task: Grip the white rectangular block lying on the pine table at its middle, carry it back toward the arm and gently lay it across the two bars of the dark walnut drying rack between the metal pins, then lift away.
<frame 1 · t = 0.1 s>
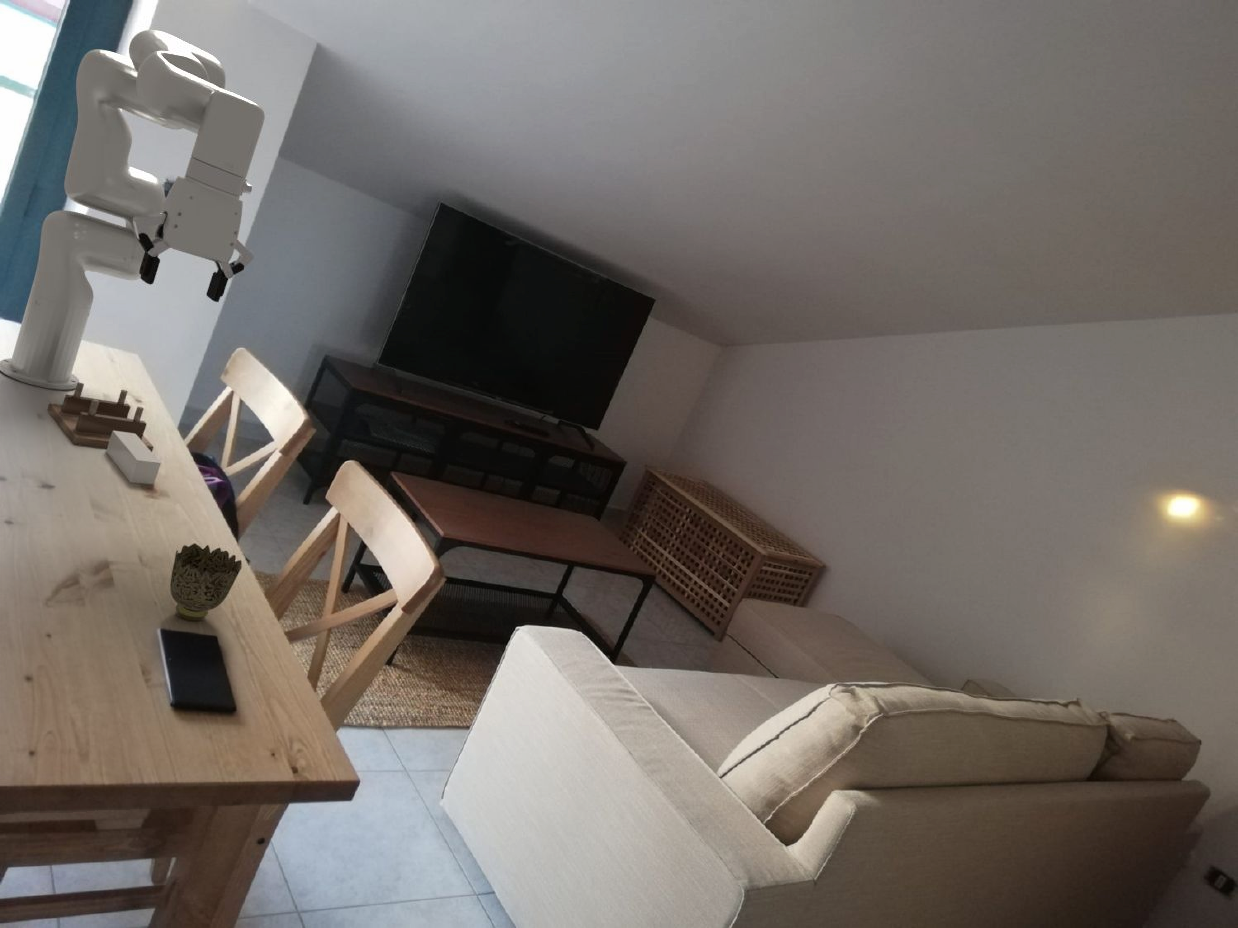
hand: (180, 290, 128), 31 cm above the table, fingers open, 9 cm apart
white rectangular block: (129, 468, 139), on the table
walnut rack: (99, 431, 148), on the table
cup: (189, 616, 105), on the table
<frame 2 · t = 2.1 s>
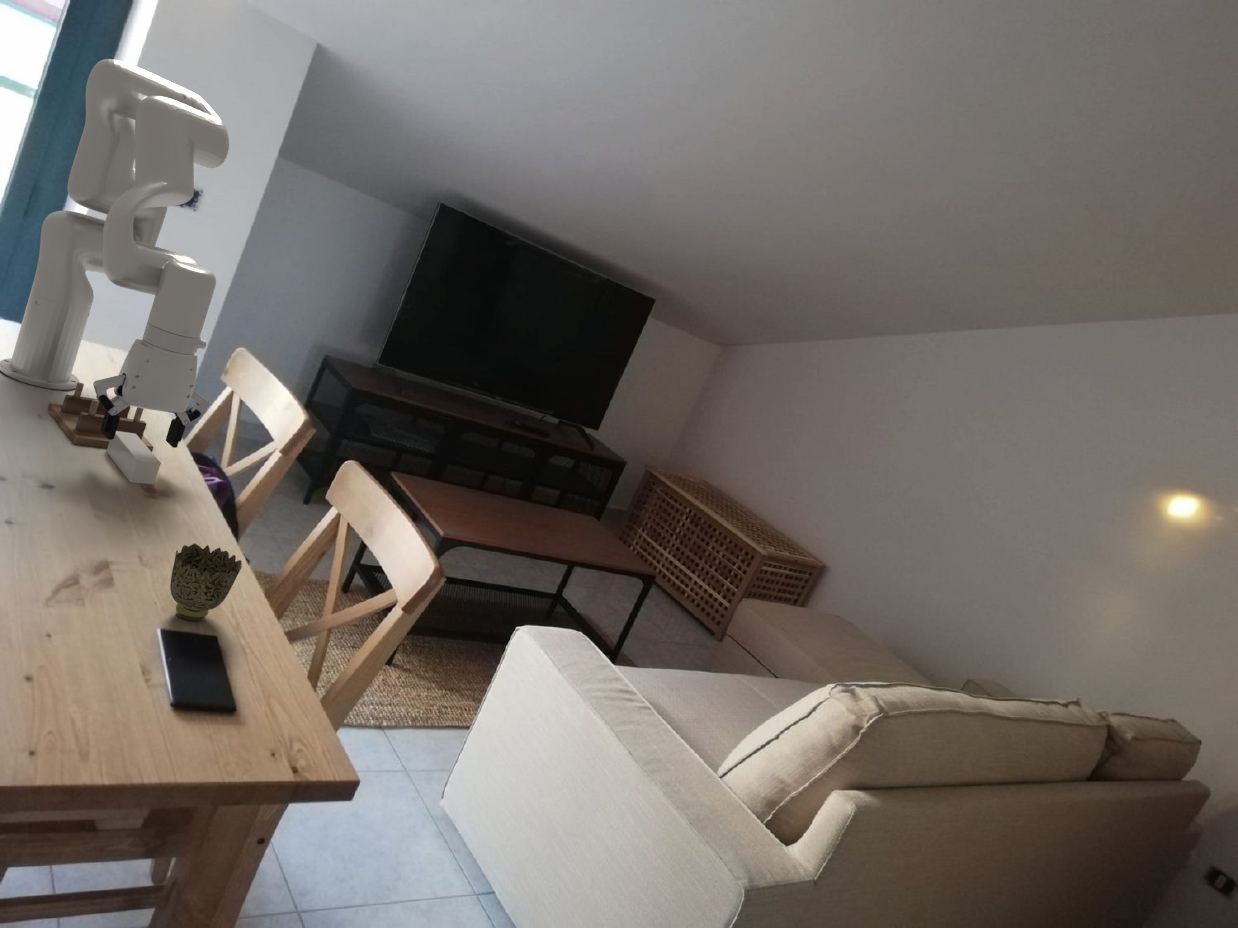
hand: (140, 440, 137), 5 cm above the table, fingers open, 9 cm apart
nothing on the table moved.
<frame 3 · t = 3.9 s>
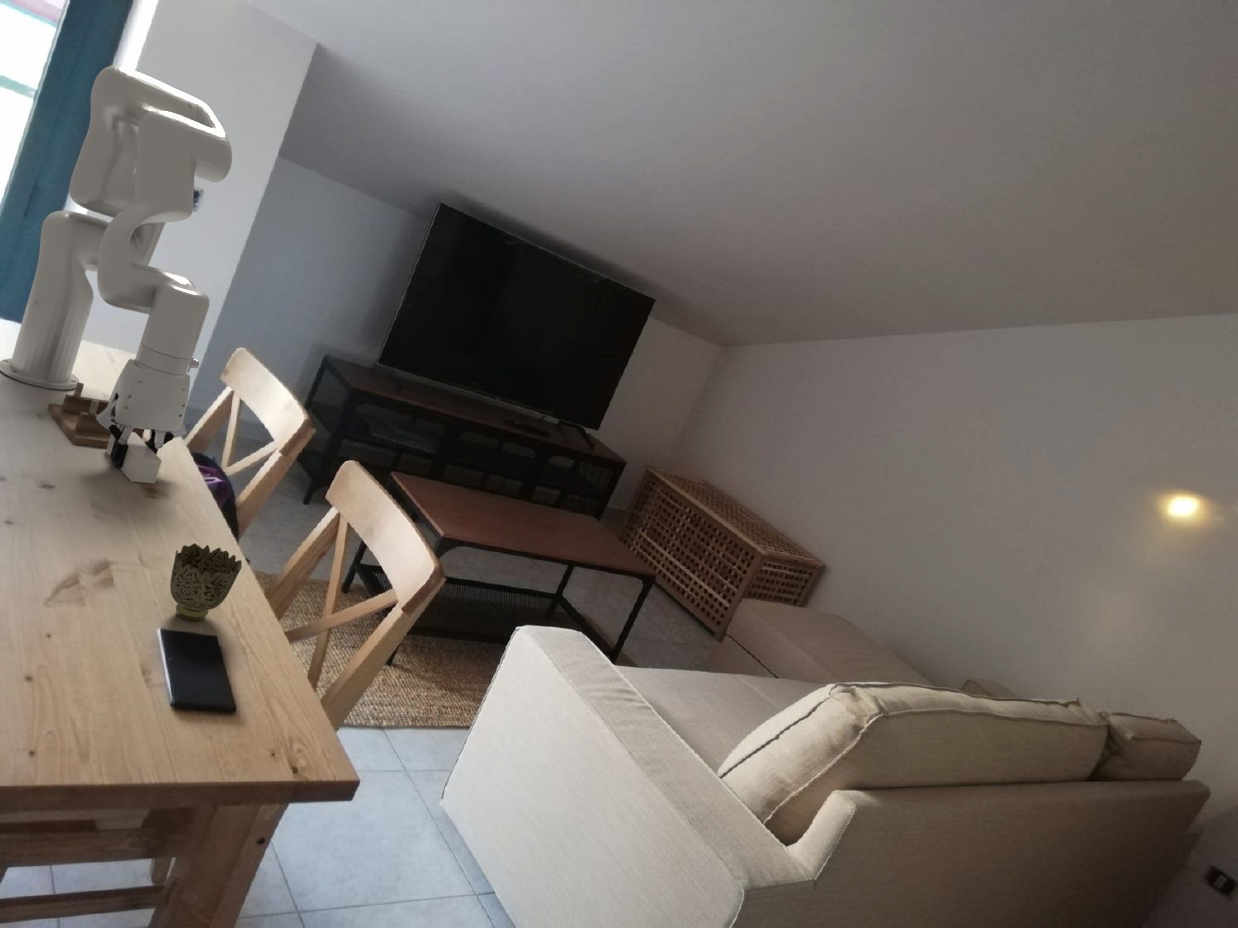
hand: (130, 464, 138), 0 cm above the table, fingers closed on white rectangular block, 3 cm apart
white rectangular block: (129, 467, 139), on the table, touching gripper
everything else where it was.
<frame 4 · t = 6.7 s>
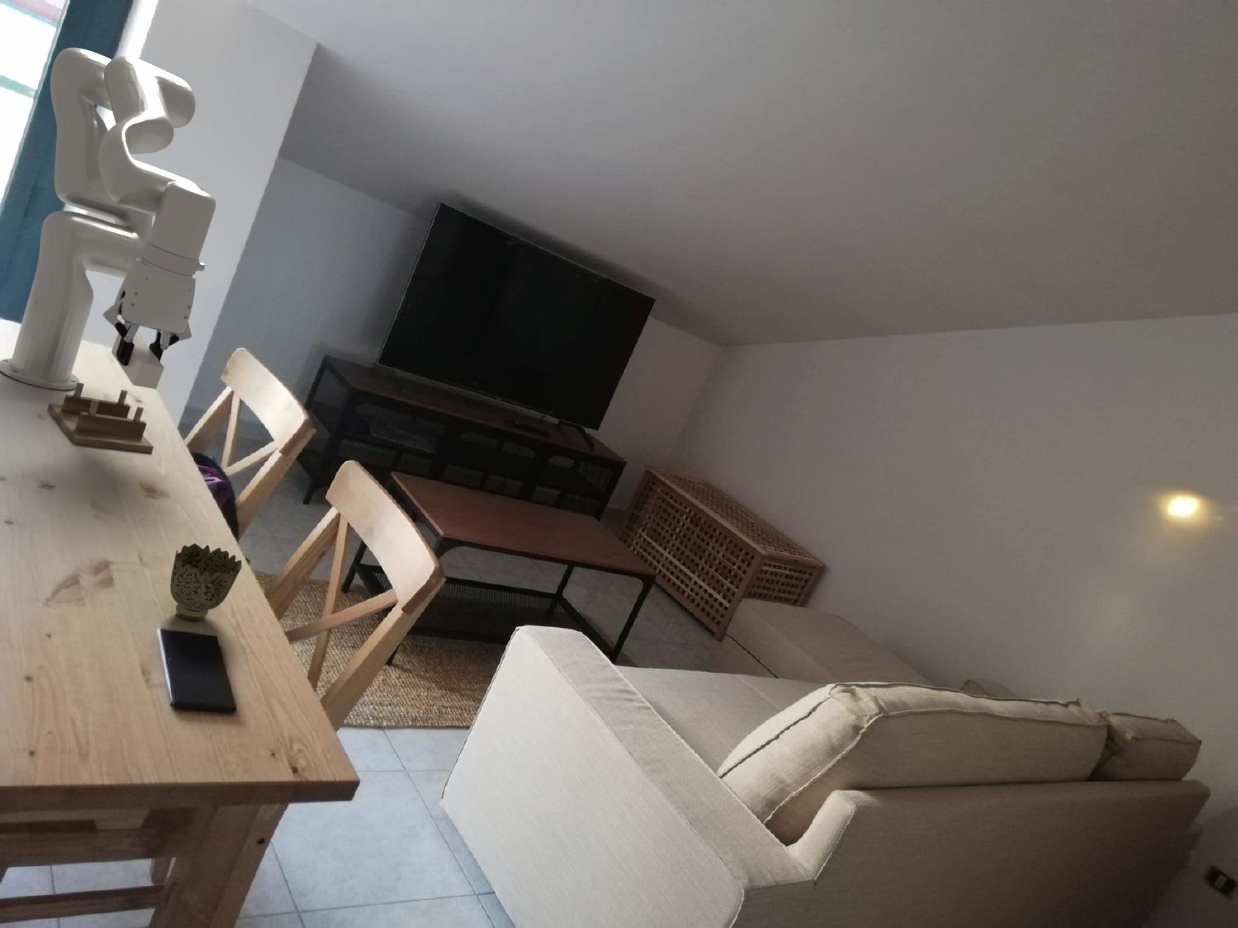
hand: (135, 364, 141), 15 cm above the table, fingers closed on white rectangular block, 3 cm apart
white rectangular block: (133, 370, 142), point 13 cm above the table, tilted 7°, touching gripper
everything else where it was.
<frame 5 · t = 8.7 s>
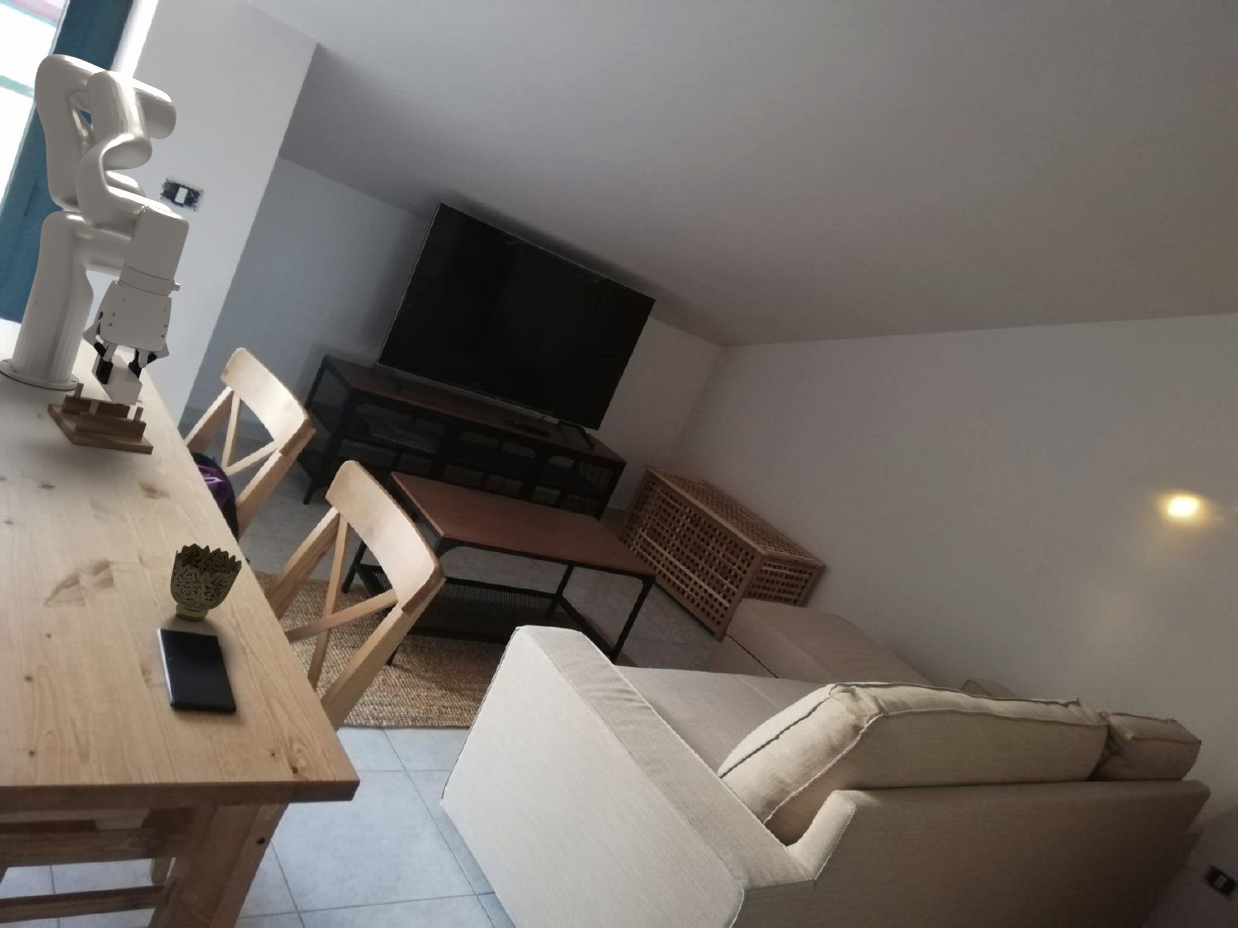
hand: (115, 383, 146), 9 cm above the table, fingers closed on white rectangular block, 3 cm apart
white rectangular block: (112, 388, 146), point 8 cm above the table, touching gripper
everything else where it was.
when the fingers open (6 cm above the table, at t = 10.1 s): white rectangular block stays where it is, resting on walnut rack.
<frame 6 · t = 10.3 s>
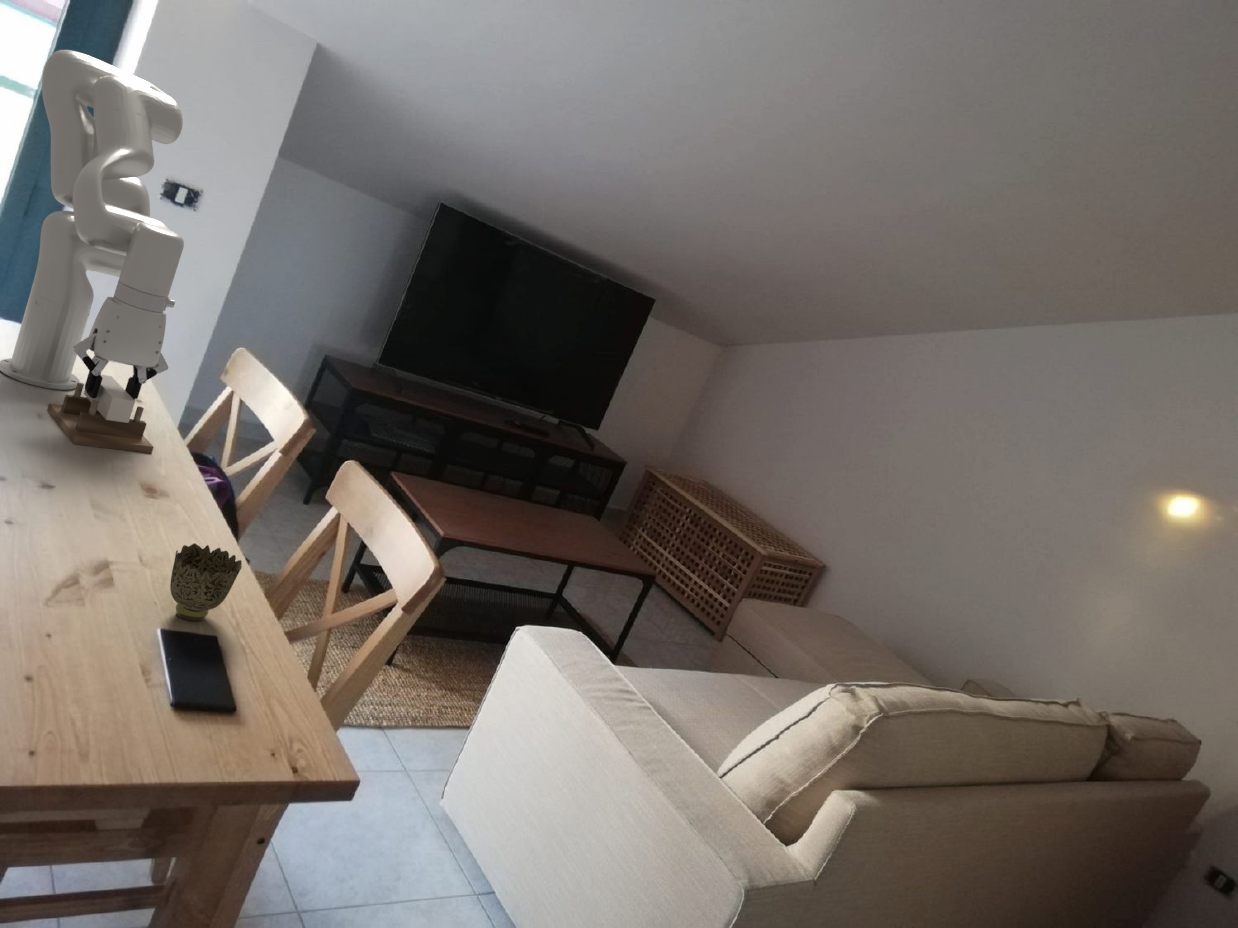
hand: (110, 397, 146), 6 cm above the table, fingers open, 5 cm apart
white rectangular block: (105, 408, 147), point 4 cm above the table, touching walnut rack
everything else where it was.
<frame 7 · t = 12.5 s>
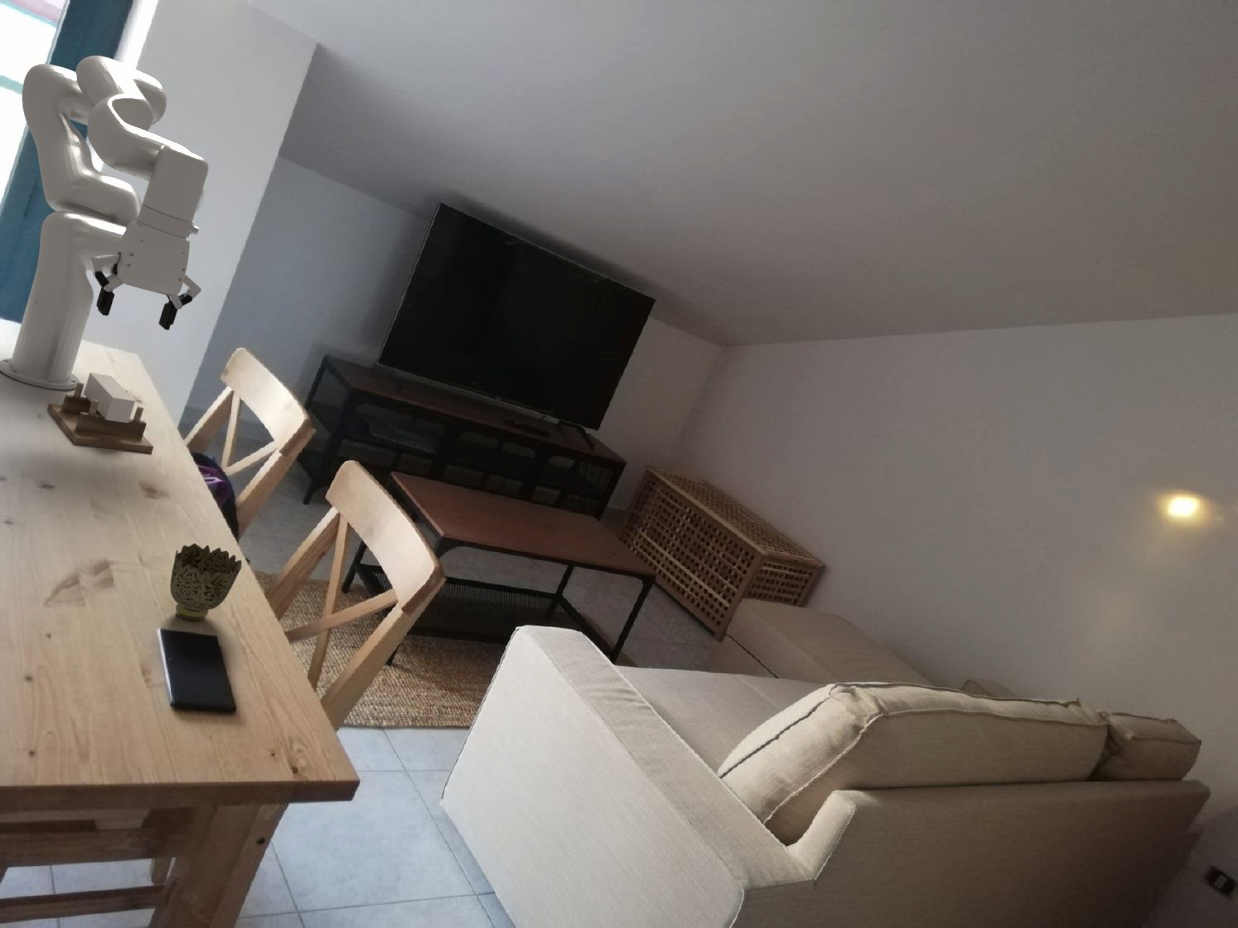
hand: (133, 320, 144), 20 cm above the table, fingers open, 9 cm apart
nothing on the table moved.
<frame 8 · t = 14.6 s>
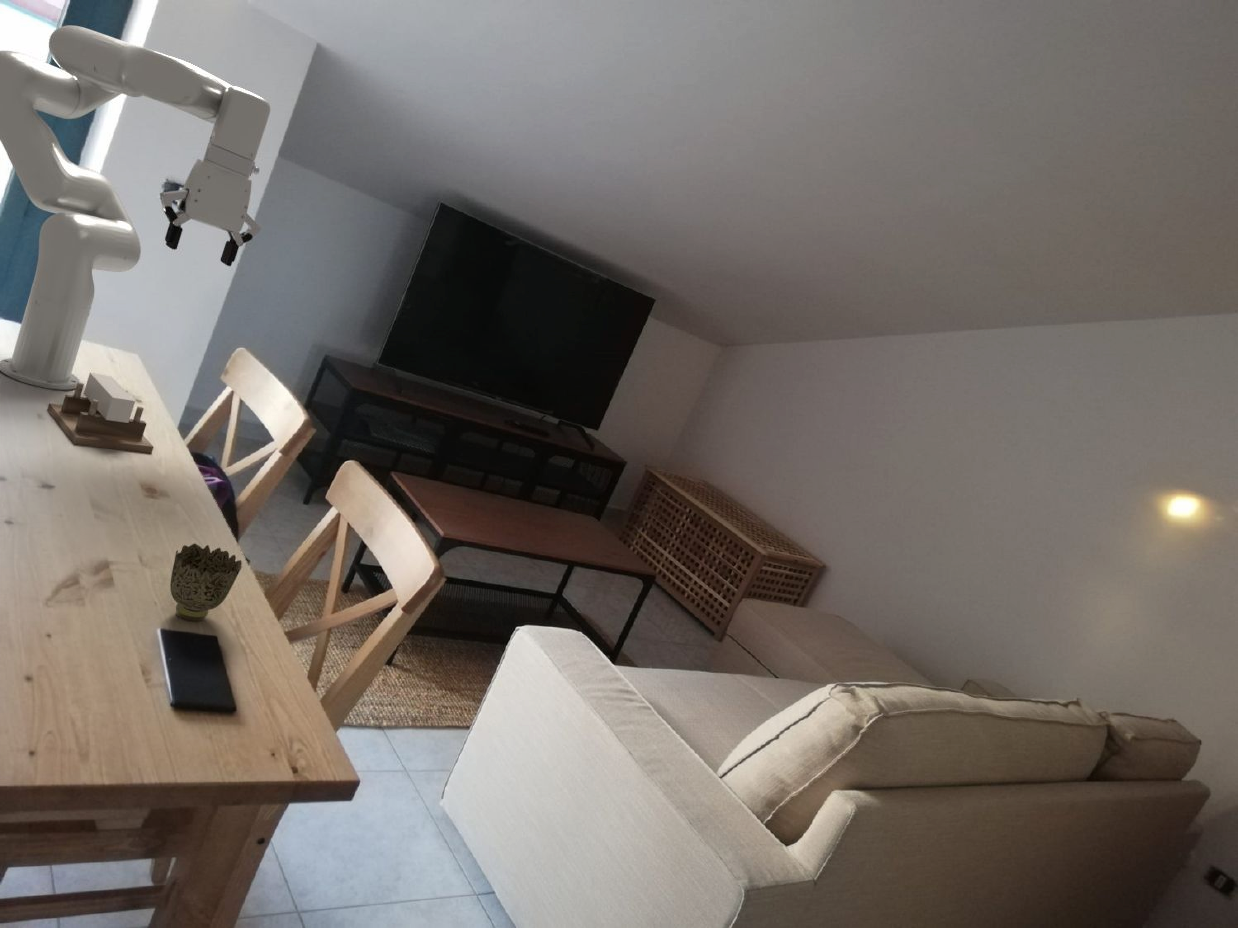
hand: (198, 256, 152), 33 cm above the table, fingers open, 9 cm apart
nothing on the table moved.
at the end: white rectangular block 0.4 cm off-centre on the walnut rack, point 4.2 cm above the walnut rack's base; white rectangular block tilted 0°; the gripper is holding nothing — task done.
